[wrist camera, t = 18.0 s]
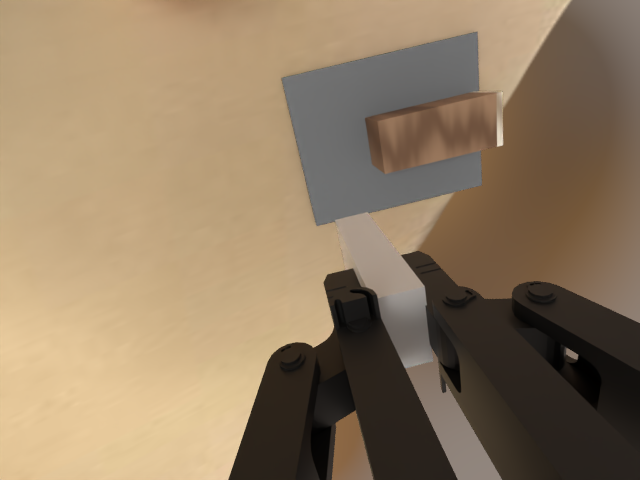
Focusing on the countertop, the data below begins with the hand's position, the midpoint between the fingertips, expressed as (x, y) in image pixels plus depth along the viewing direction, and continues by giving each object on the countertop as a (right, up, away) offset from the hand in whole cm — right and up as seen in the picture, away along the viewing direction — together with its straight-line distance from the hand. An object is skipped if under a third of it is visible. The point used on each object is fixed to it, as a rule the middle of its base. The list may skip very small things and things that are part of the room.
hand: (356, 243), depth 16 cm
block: (+4, +10, +20) cm, 22 cm away
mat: (+6, +12, +23) cm, 26 cm away
